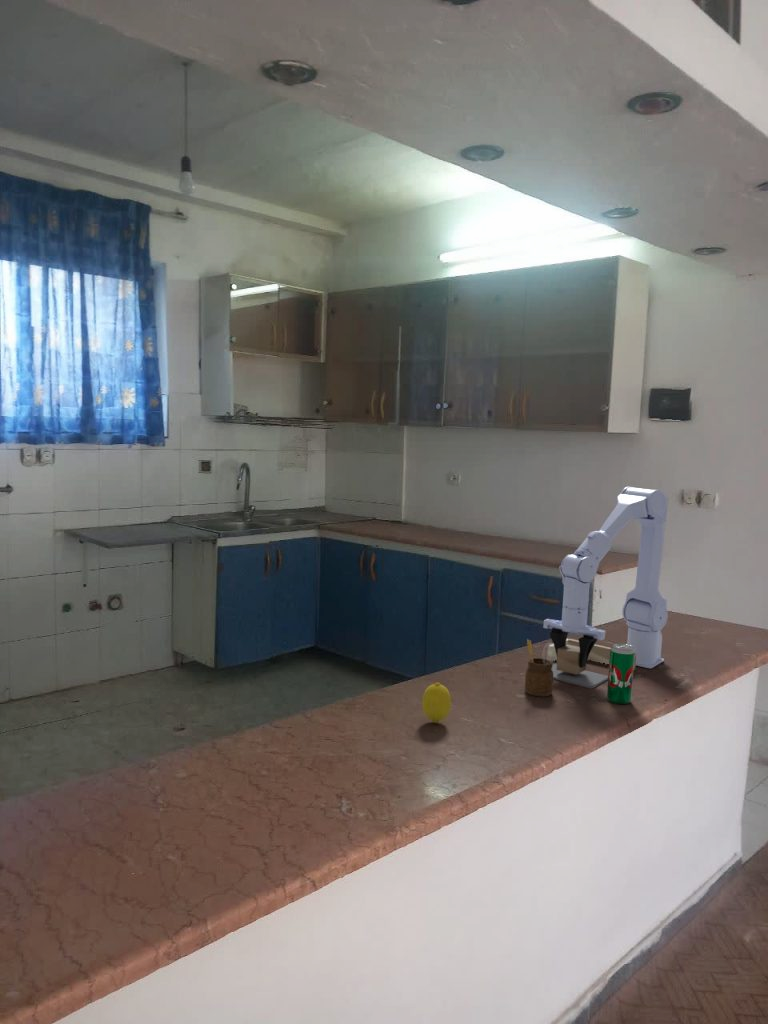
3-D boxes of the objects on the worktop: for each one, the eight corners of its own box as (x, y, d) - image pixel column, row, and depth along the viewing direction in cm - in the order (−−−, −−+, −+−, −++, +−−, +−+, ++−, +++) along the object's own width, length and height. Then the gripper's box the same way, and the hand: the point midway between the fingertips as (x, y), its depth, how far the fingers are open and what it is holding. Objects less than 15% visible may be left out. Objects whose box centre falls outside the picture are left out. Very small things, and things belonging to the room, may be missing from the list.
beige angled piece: (565, 653, 200) (566, 637, 199) (635, 669, 188) (636, 653, 188) (546, 661, 192) (547, 645, 192) (618, 679, 181) (619, 662, 180)
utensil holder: (557, 696, 168) (561, 641, 166) (532, 698, 165) (535, 643, 164) (543, 687, 173) (546, 634, 172) (518, 689, 171) (521, 636, 170)
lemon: (453, 720, 151) (456, 681, 150) (443, 730, 146) (446, 689, 145) (427, 715, 153) (429, 676, 152) (416, 724, 148) (418, 684, 148)
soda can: (628, 697, 168) (632, 643, 167) (633, 706, 163) (637, 650, 162) (604, 695, 169) (608, 642, 167) (608, 704, 164) (613, 648, 162)
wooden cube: (565, 664, 185) (567, 644, 184) (585, 669, 182) (587, 649, 181) (556, 669, 181) (557, 648, 180) (576, 674, 178) (577, 653, 177)
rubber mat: (551, 663, 190) (551, 661, 190) (609, 678, 181) (610, 676, 181) (531, 673, 182) (531, 671, 182) (591, 688, 173) (591, 686, 173)
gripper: (538, 603, 181) (535, 660, 183) (597, 615, 172) (593, 674, 174) (552, 599, 187) (549, 654, 188) (610, 610, 178) (606, 667, 179)
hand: (571, 663), depth 181 cm, fingers closed on wooden cube, 5 cm apart
